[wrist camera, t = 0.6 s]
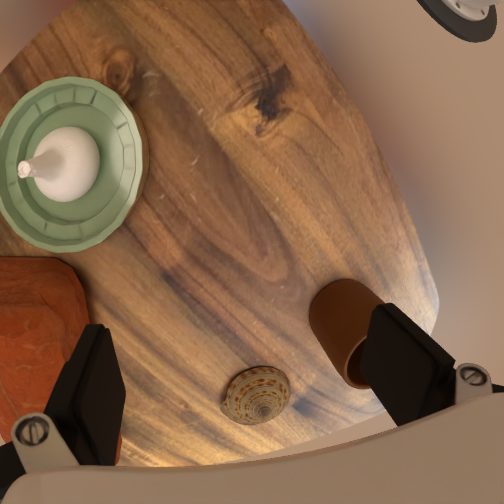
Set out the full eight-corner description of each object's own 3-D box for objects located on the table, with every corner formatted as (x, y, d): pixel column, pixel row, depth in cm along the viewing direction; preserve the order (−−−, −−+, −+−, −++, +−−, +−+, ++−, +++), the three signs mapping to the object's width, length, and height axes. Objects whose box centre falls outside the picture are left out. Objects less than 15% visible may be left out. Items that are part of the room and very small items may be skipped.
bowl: (11, 100, 20) (-9, 97, 17) (150, 75, 23) (143, 65, 19) (21, 243, 25) (3, 256, 22) (153, 234, 27) (148, 248, 24)
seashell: (206, 420, 33) (244, 401, 29) (212, 381, 38) (248, 356, 33) (262, 437, 36) (305, 420, 31) (264, 400, 40) (304, 378, 36)
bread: (34, 425, 33) (15, 478, 23) (-27, 255, 24) (-84, 296, 14) (129, 439, 35) (123, 501, 26) (90, 256, 27) (46, 311, 17)
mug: (397, 317, 36) (441, 360, 27) (355, 361, 37) (390, 411, 28) (342, 263, 32) (390, 305, 23) (292, 316, 33) (324, 373, 24)
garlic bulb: (101, 200, 25) (68, 222, 18) (41, 196, 24) (-5, 216, 16) (108, 128, 23) (75, 122, 16) (46, 127, 22) (-1, 125, 14)
